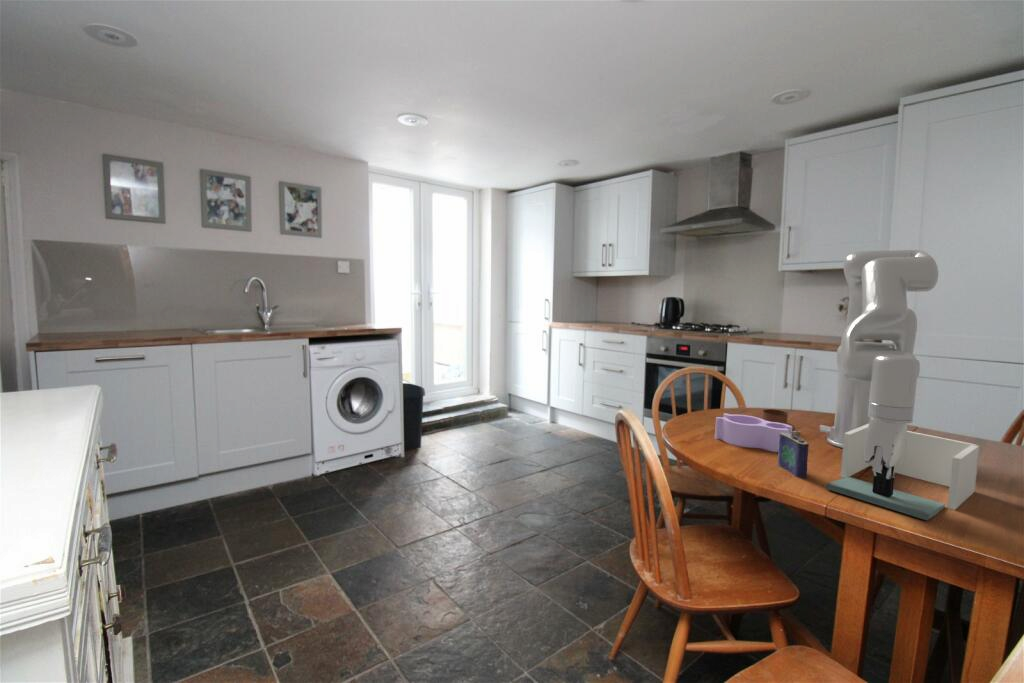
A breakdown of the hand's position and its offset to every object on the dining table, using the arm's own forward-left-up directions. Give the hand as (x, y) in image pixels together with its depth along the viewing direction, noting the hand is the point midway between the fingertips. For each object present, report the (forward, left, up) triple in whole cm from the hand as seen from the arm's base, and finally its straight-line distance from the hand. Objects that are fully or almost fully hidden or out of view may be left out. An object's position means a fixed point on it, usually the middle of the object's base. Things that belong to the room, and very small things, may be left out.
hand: (882, 494), depth 102 cm
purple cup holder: (-38, +18, -3) cm, 42 cm away
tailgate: (0, +7, -1) cm, 7 cm away
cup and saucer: (-42, +38, -3) cm, 56 cm away
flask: (-19, +1, -3) cm, 19 cm away
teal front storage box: (0, +15, -2) cm, 15 cm away
